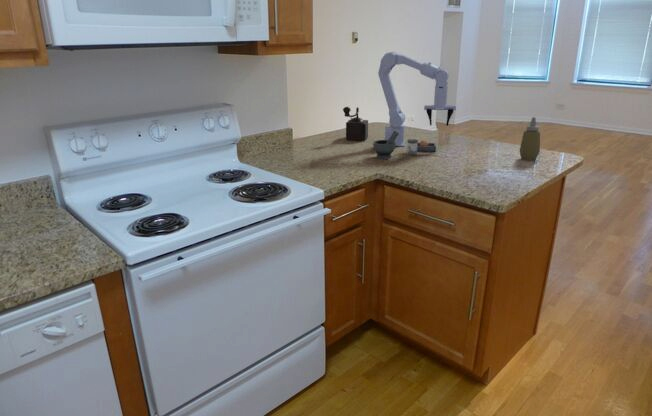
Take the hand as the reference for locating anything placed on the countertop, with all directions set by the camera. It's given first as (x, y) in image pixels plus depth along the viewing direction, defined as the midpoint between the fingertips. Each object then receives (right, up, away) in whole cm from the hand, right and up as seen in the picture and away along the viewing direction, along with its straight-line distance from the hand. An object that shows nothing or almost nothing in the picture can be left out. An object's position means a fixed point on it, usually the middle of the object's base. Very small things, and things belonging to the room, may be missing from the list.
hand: (438, 125), depth 224 cm
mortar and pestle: (-27, -17, -13) cm, 35 cm away
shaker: (-15, -15, -10) cm, 24 cm away
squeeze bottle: (+33, -19, -22) cm, 44 cm away
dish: (-8, -12, -1) cm, 14 cm away
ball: (-8, -11, -2) cm, 14 cm away
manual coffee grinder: (-38, -4, +22) cm, 45 cm away
